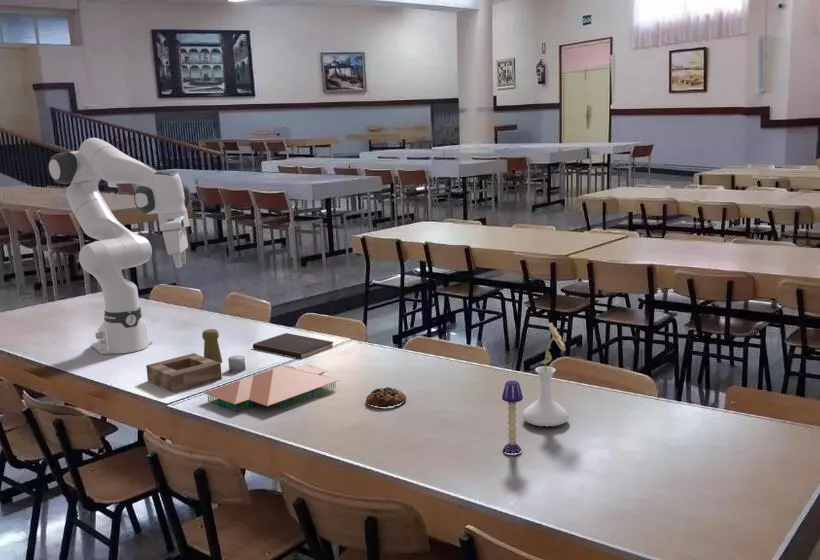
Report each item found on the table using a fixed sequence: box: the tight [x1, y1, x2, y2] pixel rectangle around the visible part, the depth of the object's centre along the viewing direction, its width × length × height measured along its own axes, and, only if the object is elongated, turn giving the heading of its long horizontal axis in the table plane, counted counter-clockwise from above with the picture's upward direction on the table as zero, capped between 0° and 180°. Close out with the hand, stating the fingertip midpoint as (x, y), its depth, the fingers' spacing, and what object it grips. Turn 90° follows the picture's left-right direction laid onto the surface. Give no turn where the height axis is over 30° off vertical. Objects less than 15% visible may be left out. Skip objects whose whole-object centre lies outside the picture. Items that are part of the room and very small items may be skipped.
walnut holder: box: [146, 352, 223, 393], centre depth 237 cm, size 16×16×5 cm
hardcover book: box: [252, 332, 335, 360], centre depth 268 cm, size 16×23×2 cm
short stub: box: [227, 354, 246, 373], centre depth 246 cm, size 5×5×4 cm
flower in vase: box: [521, 322, 570, 428], centre depth 194 cm, size 13×11×25 cm
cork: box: [201, 328, 223, 364], centre depth 253 cm, size 6×6×11 cm
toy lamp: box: [501, 380, 523, 454], centre depth 177 cm, size 5×5×17 cm
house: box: [203, 364, 340, 413], centre depth 222 cm, size 23×33×8 cm
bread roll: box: [365, 387, 407, 407], centre depth 213 cm, size 11×11×5 cm
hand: (181, 266), depth 247 cm, fingers open, 8 cm apart
